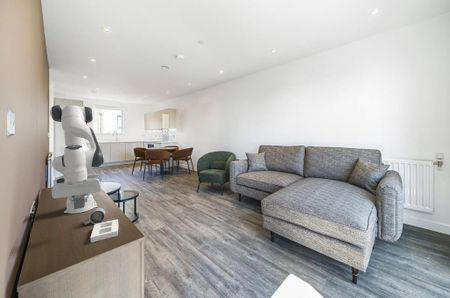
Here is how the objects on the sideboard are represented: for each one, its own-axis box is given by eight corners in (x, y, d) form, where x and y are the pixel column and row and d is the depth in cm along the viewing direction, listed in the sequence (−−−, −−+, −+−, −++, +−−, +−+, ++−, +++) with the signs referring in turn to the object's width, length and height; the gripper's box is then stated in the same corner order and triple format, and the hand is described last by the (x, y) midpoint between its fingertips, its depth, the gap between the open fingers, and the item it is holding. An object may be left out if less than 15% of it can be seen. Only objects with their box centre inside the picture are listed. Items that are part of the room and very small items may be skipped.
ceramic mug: (106, 217, 117) (104, 205, 116) (105, 221, 110) (104, 209, 109) (85, 221, 111) (83, 209, 110) (83, 227, 104) (81, 214, 103)
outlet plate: (95, 228, 102) (94, 224, 101) (118, 223, 107) (118, 219, 107) (90, 242, 88) (90, 237, 87) (117, 235, 93) (117, 231, 93)
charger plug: (75, 206, 98) (74, 195, 98) (85, 205, 100) (84, 194, 100) (74, 209, 95) (73, 197, 94) (84, 207, 97) (82, 196, 96)
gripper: (101, 173, 104) (103, 197, 105) (53, 178, 94) (56, 205, 95) (100, 175, 98) (102, 200, 100) (49, 181, 88) (52, 209, 90)
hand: (79, 203), depth 97 cm, fingers closed on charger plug, 4 cm apart
